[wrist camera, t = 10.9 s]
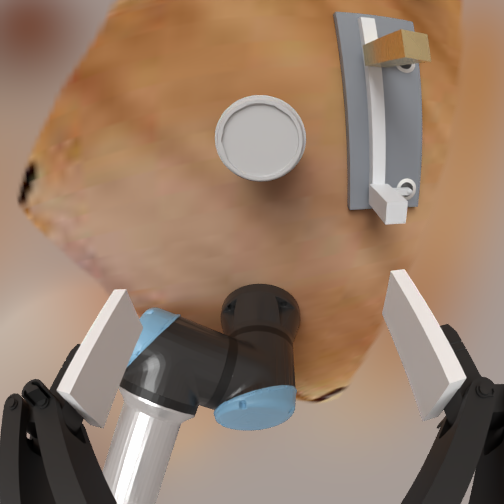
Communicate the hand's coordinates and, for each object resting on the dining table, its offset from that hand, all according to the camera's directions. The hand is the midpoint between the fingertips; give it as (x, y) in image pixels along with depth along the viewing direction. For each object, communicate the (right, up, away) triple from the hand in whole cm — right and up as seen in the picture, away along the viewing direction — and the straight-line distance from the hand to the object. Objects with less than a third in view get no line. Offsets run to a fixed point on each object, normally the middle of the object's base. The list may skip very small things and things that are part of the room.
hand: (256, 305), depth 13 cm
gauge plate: (+19, +23, +21) cm, 36 cm away
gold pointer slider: (+18, +29, +15) cm, 37 cm away
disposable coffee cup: (+1, +20, +24) cm, 31 cm away
